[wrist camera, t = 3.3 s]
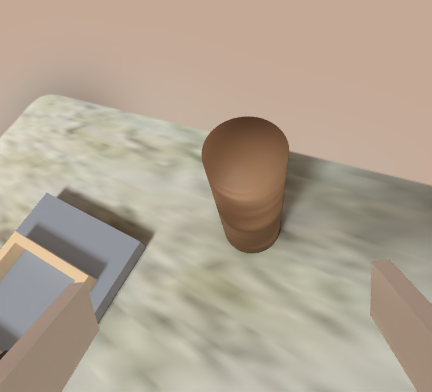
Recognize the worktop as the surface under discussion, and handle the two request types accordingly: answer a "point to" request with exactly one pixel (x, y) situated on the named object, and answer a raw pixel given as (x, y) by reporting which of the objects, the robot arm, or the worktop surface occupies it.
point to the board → (59, 264)
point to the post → (247, 180)
